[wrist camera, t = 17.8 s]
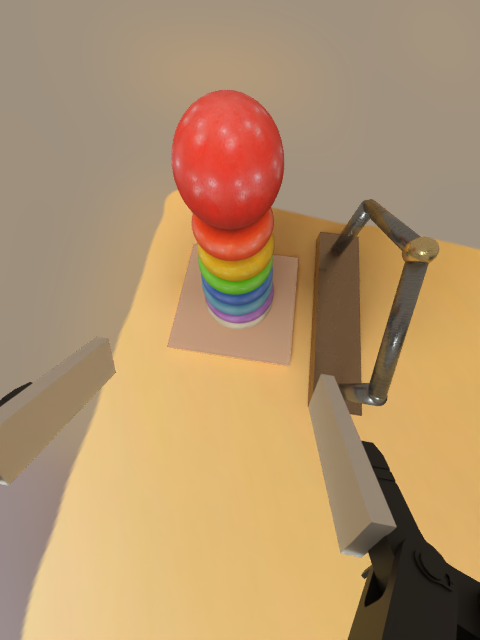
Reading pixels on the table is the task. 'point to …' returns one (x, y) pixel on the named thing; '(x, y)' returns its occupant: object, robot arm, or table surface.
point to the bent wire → (344, 306)
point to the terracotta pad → (248, 344)
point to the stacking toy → (231, 201)
